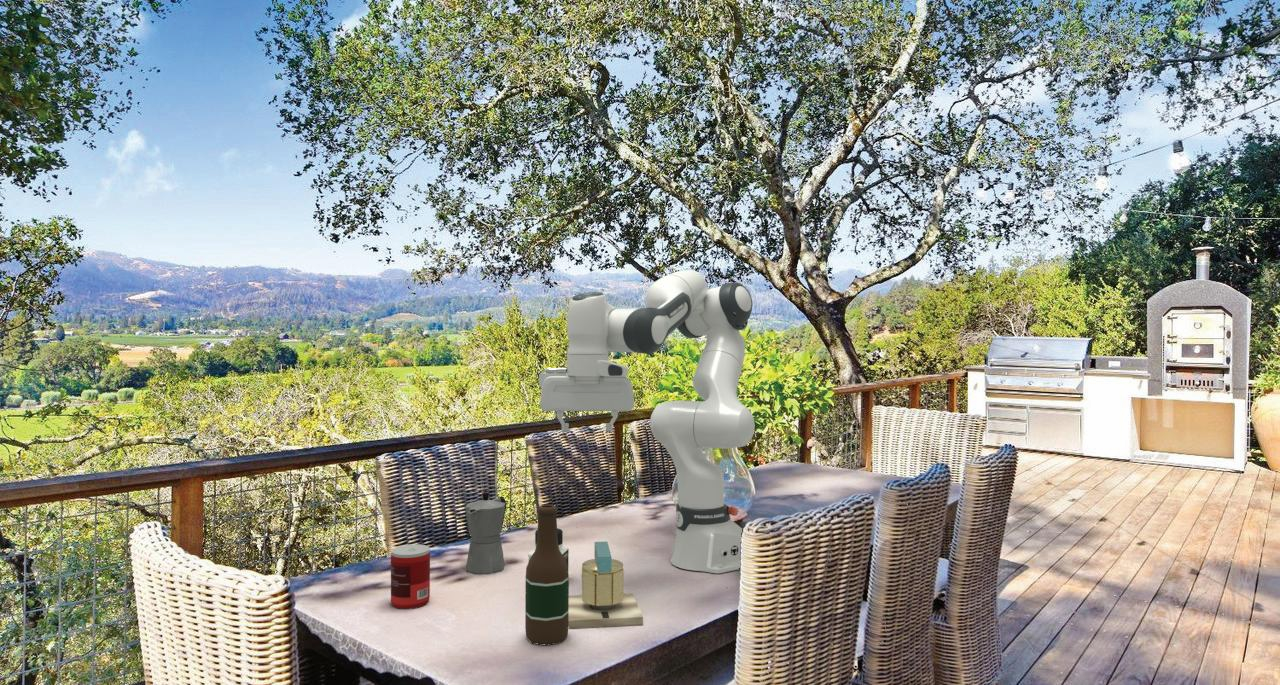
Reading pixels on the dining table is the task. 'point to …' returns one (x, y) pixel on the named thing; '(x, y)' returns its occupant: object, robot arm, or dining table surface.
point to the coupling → (602, 578)
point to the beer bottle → (547, 584)
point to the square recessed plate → (604, 613)
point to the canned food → (410, 576)
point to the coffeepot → (485, 535)
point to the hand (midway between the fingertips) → (587, 432)
